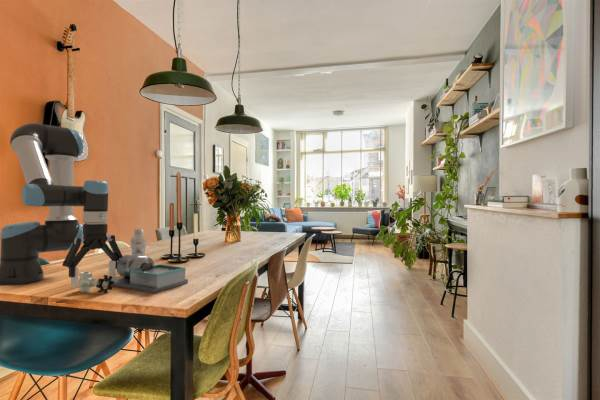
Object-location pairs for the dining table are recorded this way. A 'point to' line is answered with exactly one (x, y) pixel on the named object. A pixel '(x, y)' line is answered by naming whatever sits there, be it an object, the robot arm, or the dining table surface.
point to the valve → (94, 282)
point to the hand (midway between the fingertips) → (94, 282)
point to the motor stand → (147, 275)
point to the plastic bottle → (138, 243)
